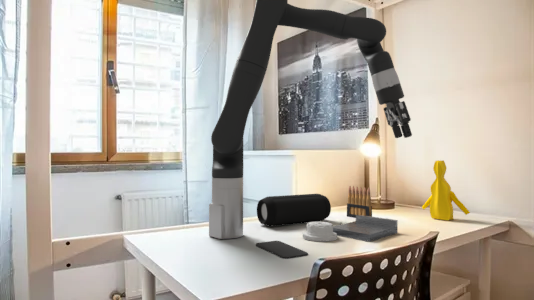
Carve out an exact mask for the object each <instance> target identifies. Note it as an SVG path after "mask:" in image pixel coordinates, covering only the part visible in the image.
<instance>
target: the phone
mask: <svg viewBox="0 0 534 300" xmlns="http://www.w3.org/2000/svg"><path fill="white" fill-rule="evenodd" d="M255 246H256V247H257V248H259V249H262V250H264V251H266V252H268V253H270V254H271V255H274V256H276V257H278V258H281V259H283V260H284V259H286V260H288V259H295V258H301V257H307V256H308V255H309V252H307V251H305V250H303V249H299V248H298V247H296V246H295V247H294V246H293V245H291V244H288V243H285V242H283V241H281V240H270V241H269V240H268V241H261V242H256V244H255Z"/></svg>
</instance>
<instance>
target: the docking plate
mask: <svg viewBox="0 0 534 300" xmlns="http://www.w3.org/2000/svg"><path fill="white" fill-rule="evenodd" d="M398 230H399V229H398V219H391V218H386V217H385V218H383V217H376V216H372V217H371V216H364V215H356V218H355V221H350V222H346V223H342V224H337V225H333V232H335V233H337V237H338V236H339V237H344V238H347V239H349V238H350V239H353V240H359V241H364V242H370V243H371V242H373V241H376V240H377V241H378V240H380V239H384V238H387V237H389V236H393V235H396V234H398V233H399V232H398Z"/></svg>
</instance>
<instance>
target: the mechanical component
mask: <svg viewBox="0 0 534 300" xmlns="http://www.w3.org/2000/svg"><path fill="white" fill-rule="evenodd" d="M333 226H334V225H333V223H332V222H327V221H320V222H310V223H306V230H305V231H303V232H302V239H304V240H308V241H312V242H333V241H336V240H337V239H338V236H337V233H335V232H333Z"/></svg>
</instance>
